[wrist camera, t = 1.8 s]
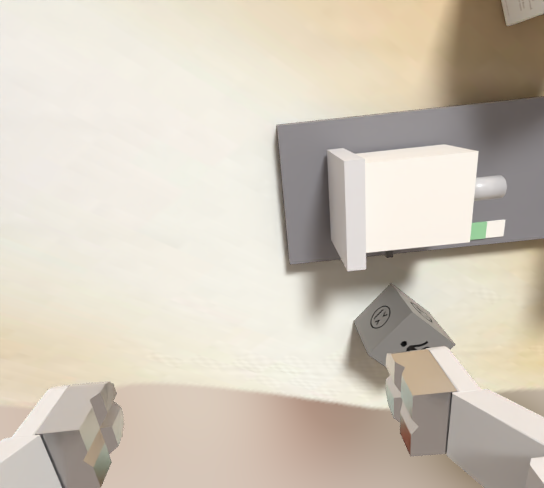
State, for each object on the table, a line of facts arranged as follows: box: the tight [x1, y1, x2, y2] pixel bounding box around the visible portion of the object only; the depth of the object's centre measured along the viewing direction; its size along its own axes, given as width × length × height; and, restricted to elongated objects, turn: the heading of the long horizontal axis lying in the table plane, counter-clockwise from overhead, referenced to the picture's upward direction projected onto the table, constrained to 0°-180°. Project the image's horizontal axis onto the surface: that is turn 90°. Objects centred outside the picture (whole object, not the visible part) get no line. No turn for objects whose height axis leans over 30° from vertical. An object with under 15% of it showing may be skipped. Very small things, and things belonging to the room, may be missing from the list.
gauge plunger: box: [327, 144, 507, 271], centre depth 25 cm, size 12×9×6 cm
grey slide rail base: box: [277, 96, 544, 264], centre depth 25 cm, size 28×11×10 cm, turn 96°
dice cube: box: [354, 283, 455, 367], centre depth 32 cm, size 5×5×5 cm
